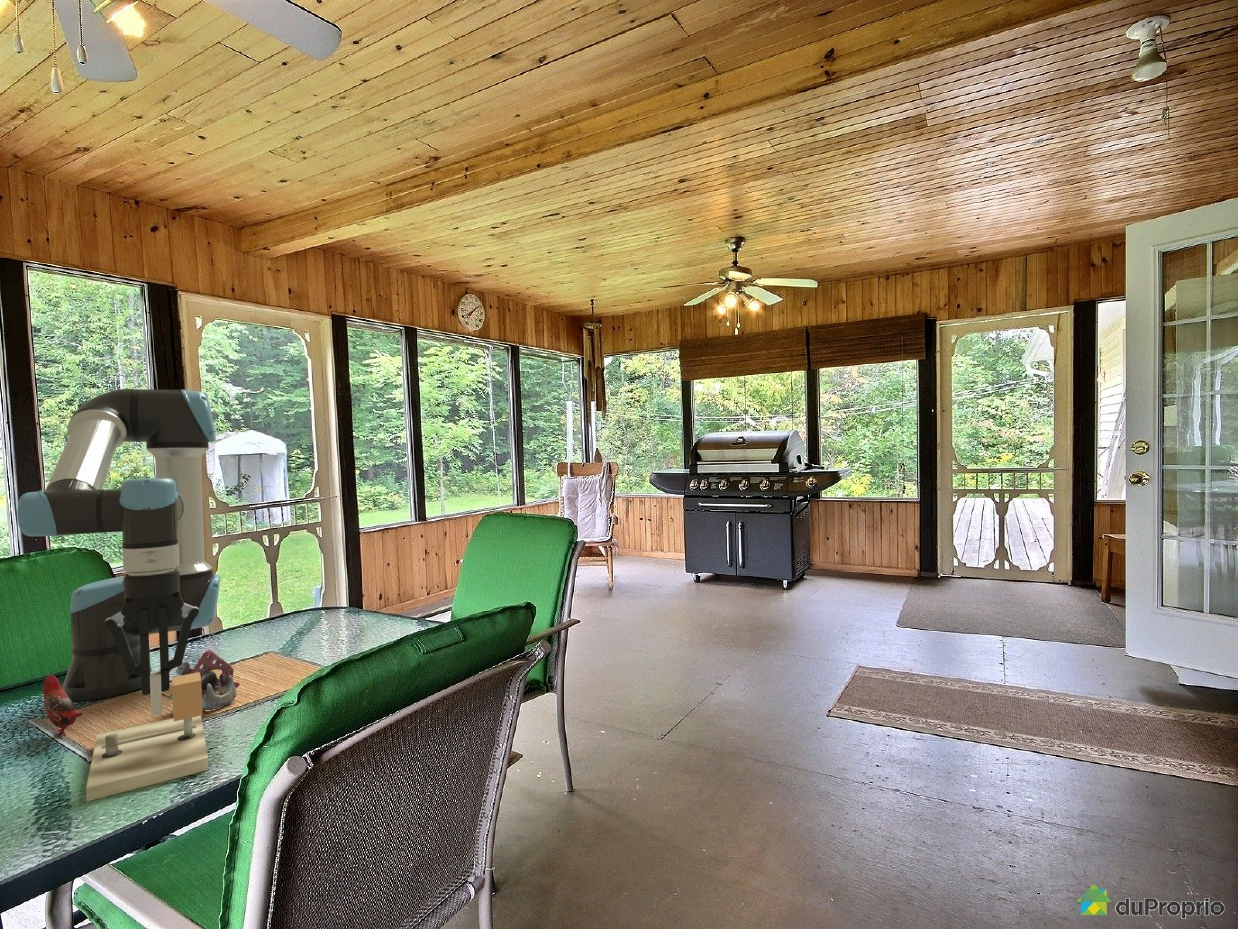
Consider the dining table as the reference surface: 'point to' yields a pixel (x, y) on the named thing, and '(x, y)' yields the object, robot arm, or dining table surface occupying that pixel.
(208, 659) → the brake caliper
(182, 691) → the tan block on peg
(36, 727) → the dining table surface
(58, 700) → the decorative bird figurine
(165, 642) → the robot arm
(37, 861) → the dining table surface
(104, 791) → the wooden peg board
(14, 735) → the dining table surface
